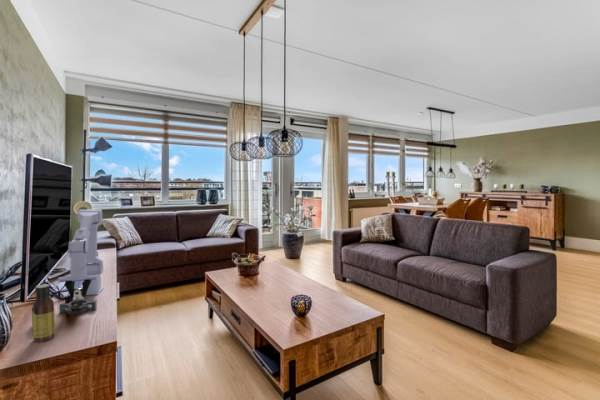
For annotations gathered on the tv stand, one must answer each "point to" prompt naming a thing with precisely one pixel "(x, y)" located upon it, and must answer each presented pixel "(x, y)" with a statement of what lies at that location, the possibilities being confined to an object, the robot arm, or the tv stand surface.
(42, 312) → the sauce bottle
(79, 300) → the air tube
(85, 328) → the tv stand surface
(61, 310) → the collar stand
